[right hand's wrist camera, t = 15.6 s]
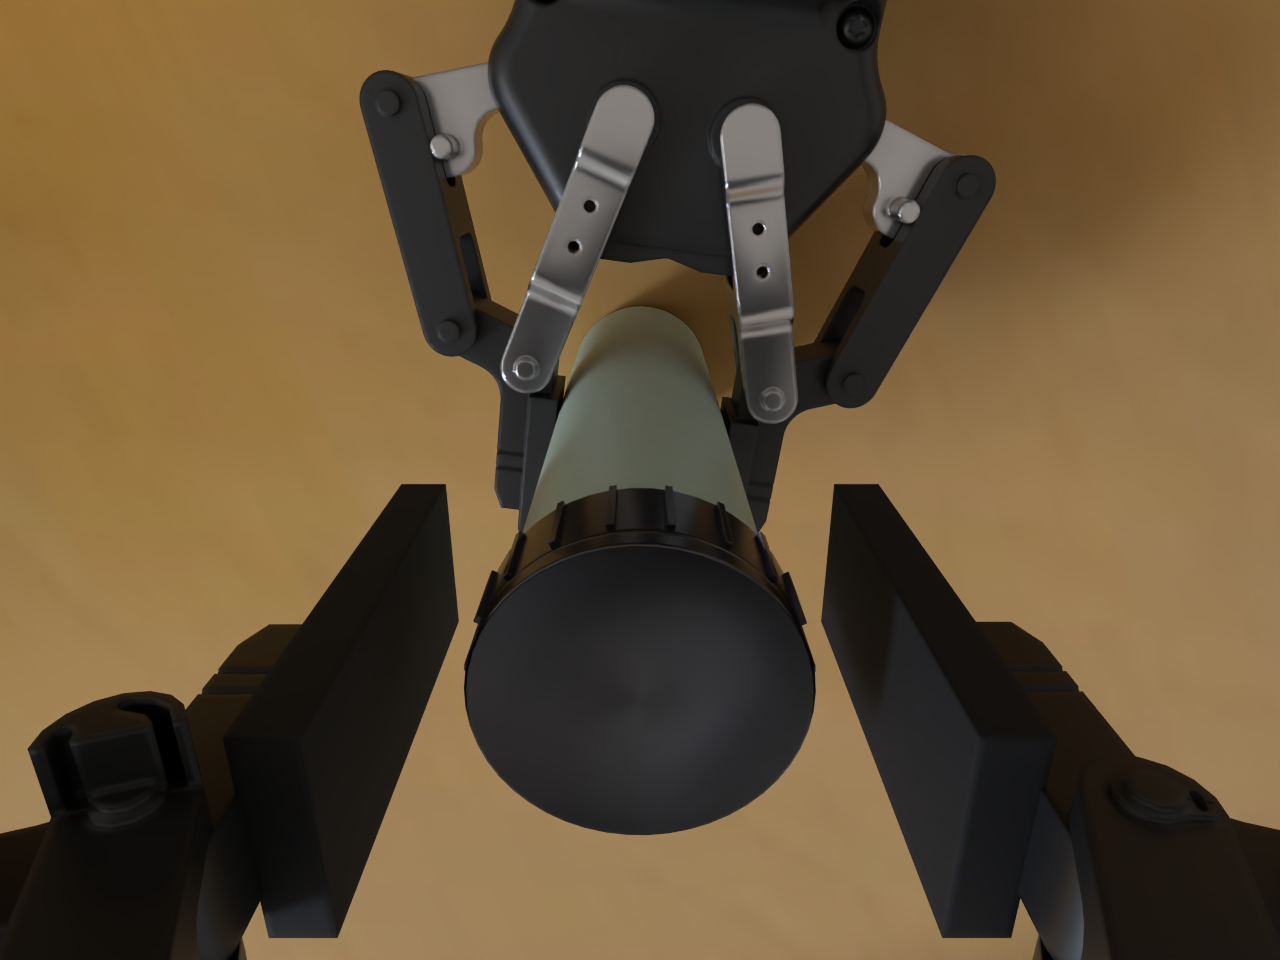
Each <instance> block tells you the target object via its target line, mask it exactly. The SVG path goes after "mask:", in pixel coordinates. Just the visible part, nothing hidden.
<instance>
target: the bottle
mask: <svg viewBox="0 0 1280 960" xmlns="http://www.w3.org/2000/svg"><path fill="white" fill-rule="evenodd" d="M613 485H617V489H626V488H655V489H663V490H664V488H665V485H667V486H672V487H673V491H676V492H680V493H684V494H687V495H691V496H695V497H697V498H700V499H702V500H705V501H707V502H710V503H712V504H715V505H716V504H717V502H718V501H719V502H721V503H723V504H724V505H725V509H726V511H727V512H729V513H731V514H732V515H734V516H735V517H736V518H738V519H739V520H740V521H742V522H743V523H744V524H746V525H747V526H748V527H749V528H750V529H751V530H752V531H753V532H754V533H755V534H756V535H757V534H758V533H757V530H756V526H755V523H754V520H753V517H752V513H751V510H750V507H749V503H748V500H747V497H746V493H745V490H744V487H743V484H742V480H741V477H740V474H739V470H738V467H737V464H736V461H735V457H734V454H733V451H732V447H731V444H730V441H729V437H728V434H727V431H726V428H725V424H724V421H723V418H722V414H721V411H720V408H719V405H718V401H717V398H716V395H715V391H714V388H713V385H712V381H711V378H710V375H709V372H708V368H707V365H706V362H705V358H704V355H703V352H702V349H701V346H700V344H699V342H698V340H697V338H696V337H695V335H694V333H693V332H692V331H691V330H690V329H689V327H688V326H687V325H686V324H685V323H683V322H682V321H681V320H680V319H678V318H677V317H675V316H674V315H672V314H670V313H668V312H666V311H663V310H660V309H657V308H652V307H644V306H636V307H628V308H623V309H620V310H617V311H614V312H612V313H610V314H608V315H606V316H605V317H603V318H602V319H600V320H599V321H598V322H597V323H596V324H595V325H593V327H592V328H591V329H590V330H589V331H588V332H587V334H586V336H585V337H584V339H583V340H582V343H581V345H580V347H579V350H578V353H577V356H576V359H575V363H574V366H573V369H572V372H571V376H570V379H569V382H568V386H567V389H566V392H565V395H564V399H563V402H562V405H561V408H560V412H559V415H558V418H557V422H556V425H555V428H554V431H553V435H552V438H551V441H550V444H549V448H548V451H547V454H546V458H545V461H544V464H543V467H542V471H541V474H540V477H539V480H538V484H537V487H536V490H535V494H534V497H533V500H532V503H531V507H530V510H529V513H528V516H527V520H526V523H525V526H524V530H523V533H525V532H526V531H528V530H529V529H530V528H531V527H532V526H533V525H534V524H535V523H536V522H538V521H539V520H541V519H542V518H544V517H545V516H546V515H548V514H549V513H551V512H552V511H554V510H556V506H557V503H559V502H561V501H564V502H565V504H568V503H570V502H572V501H575V500H577V499H580V498H583V497H586V496H588V495H592V494H596V493H600V492H605V491H609V486H613Z"/></svg>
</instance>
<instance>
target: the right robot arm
mask: <svg viewBox="0 0 1280 960" xmlns="http://www.w3.org/2000/svg"><path fill="white" fill-rule="evenodd" d="M458 622H459V619H458V609H457V598H456V587H455V577H454V566H453V556H452V545H451V535H450V524H449V514H448V503H447V493H446V484H401V486H400V487H399V489H398V490H397V491H396V493H395V494H394V496H393V497H392V499H391V500H390V501H389V503H388V504H387V506H386V507H385V508H384V510H383V511H382V513H381V514H380V515H379V517H378V518H377V520H376V521H375V523H374V524H373V525H372V527H371V528H370V530H369V531H368V532H367V534H366V535H365V537H364V538H363V539H362V541H361V542H360V544H359V545H358V547H357V548H356V549H355V551H354V552H353V554H352V555H351V556H350V558H349V559H348V561H347V562H346V563H345V565H344V566H343V568H342V569H341V571H340V572H339V573H338V575H337V576H336V578H335V579H334V580H333V582H332V583H331V585H330V586H329V587H328V589H327V590H326V592H325V593H324V595H323V596H322V597H321V599H320V600H319V602H318V603H317V604H316V606H315V607H314V609H313V610H312V611H311V613H310V614H309V616H308V617H307V619H306V620H305V621H304V623H303V624H269V625H268V626H266V627H265V628H263V629H262V630H260V631H259V632H257V633H256V634H254V635H253V636H251V637H249V638H248V639H246V640H245V641H243V642H242V643H240V644H239V645H238V646H237V647H236V648H235V649H234V651H233V652H232V653H231V654H230V655H229V657H228V658H227V659H226V660H225V662H224V663H223V664H222V665H221V667H220V668H219V669H218V670H219V671H218V674H214V675H213V676H212V678H211V679H210V680H209V681H208V683H207V684H206V685H205V686H204V688H203V689H202V694H198V695H197V696H196V698H195V699H194V700H193V701H192V702H191V704H190V705H189V706H188V707H187V709H186V710H185V707H184V704H183V703H181V702H180V701H179V700H177V699H176V698H175V697H173V696H172V695H169V694H163V693H158V692H152V691H146V692H134V693H123V694H119V695H115V696H112V697H108V698H104V699H101V700H97V701H94V702H91V703H89V704H87V705H85V706H83V707H80V708H78V709H76V710H74V711H72V712H70V713H67V714H65V715H64V716H62V717H61V718H60V719H58V720H57V721H55V722H54V723H53V724H51V725H50V726H48V727H47V728H45V729H44V730H43V731H42V732H41V733H40V734H39V735H38V737H37V738H36V739H35V740H34V742H33V743H32V744H31V745H30V747H29V748H28V751H29V754H30V757H31V760H32V763H33V766H34V769H35V772H36V775H37V778H38V780H39V783H40V786H41V789H42V792H43V795H44V798H45V801H46V804H47V807H48V810H49V812H50V815H51V819H50V822H47V823H44V824H40V825H37V826H33V827H28V828H24V829H19V830H15V831H10V832H6V833H1V834H0V960H247V958H246V952H245V948H244V944H243V940H242V936H243V934H244V932H245V930H246V928H247V926H248V924H249V922H250V920H251V918H252V916H253V914H254V912H255V910H256V908H257V906H258V904H259V902H261V906H262V910H263V915H264V919H265V923H266V927H267V932H268V936H269V938H338V935H339V933H340V930H341V927H342V925H343V922H344V920H345V917H346V914H347V912H348V909H349V907H350V904H351V901H352V899H353V896H354V894H355V891H356V888H357V886H358V883H359V880H360V878H361V875H362V873H363V870H364V867H365V865H366V862H367V860H368V857H369V854H370V852H371V849H372V847H373V844H374V841H375V839H376V836H377V833H378V831H379V828H380V826H381V823H382V820H383V818H384V815H385V813H386V810H387V807H388V805H389V802H390V800H391V797H392V794H393V792H394V789H395V786H396V784H397V781H398V779H399V776H400V773H401V771H402V768H403V766H404V763H405V760H406V758H407V755H408V752H409V750H410V747H411V745H412V742H413V739H414V737H415V734H416V732H417V729H418V726H419V724H420V721H421V719H422V716H423V713H424V711H425V708H426V705H427V703H428V700H429V698H430V695H431V692H432V690H433V687H434V685H435V682H436V679H437V677H438V674H439V672H440V669H441V666H442V664H443V661H444V658H445V656H446V653H447V651H448V648H449V645H450V643H451V640H452V638H453V635H454V632H455V630H456V627H457V625H458ZM821 622H822V625H823V627H824V630H825V632H826V635H827V638H828V640H829V643H830V645H831V648H832V651H833V653H834V656H835V658H836V661H837V664H838V666H839V669H840V672H841V674H842V677H843V679H844V682H845V685H846V687H847V690H848V692H849V695H850V698H851V700H852V703H853V705H854V708H855V711H856V713H857V716H858V719H859V721H860V724H861V726H862V729H863V732H864V734H865V737H866V739H867V742H868V745H869V747H870V750H871V752H872V755H873V758H874V760H875V763H876V766H877V768H878V771H879V773H880V776H881V779H882V781H883V784H884V786H885V789H886V792H887V794H888V797H889V800H890V802H891V805H892V807H893V810H894V813H895V815H896V818H897V820H898V823H899V826H900V828H901V831H902V833H903V836H904V839H905V841H906V844H907V847H908V849H909V852H910V854H911V857H912V860H913V862H914V865H915V867H916V870H917V873H918V875H919V878H920V880H921V883H922V886H923V888H924V891H925V894H926V896H927V899H928V901H929V904H930V907H931V909H932V912H933V914H934V917H935V920H936V922H937V925H938V927H939V930H940V933H941V935H942V938H1011V936H1012V932H1013V927H1014V923H1015V919H1016V915H1017V910H1018V906H1019V902H1020V898H1021V900H1022V902H1023V904H1024V906H1025V908H1026V910H1027V912H1028V914H1029V916H1030V918H1031V920H1032V922H1033V924H1034V926H1035V928H1036V930H1037V932H1038V934H1039V936H1038V940H1037V944H1036V948H1035V952H1034V956H1033V960H1280V830H1277V829H1272V828H1268V827H1263V826H1259V825H1254V824H1250V823H1245V822H1242V821H1238V820H1235V819H1231V818H1229V816H1228V814H1227V813H1226V812H1225V810H1224V809H1223V807H1222V806H1221V804H1220V803H1219V801H1218V800H1217V798H1216V797H1215V796H1213V795H1212V794H1211V793H1210V792H1208V791H1207V790H1206V789H1205V788H1203V787H1202V786H1201V785H1200V784H1199V783H1197V782H1196V781H1195V780H1193V779H1192V778H1190V777H1188V776H1186V775H1184V774H1182V773H1180V772H1178V771H1176V770H1174V769H1172V768H1170V767H1168V766H1166V765H1163V764H1160V763H1156V762H1153V761H1150V760H1147V759H1143V758H1140V757H1136V756H1135V755H1134V754H1133V753H1132V752H1131V750H1130V749H1129V748H1128V747H1127V745H1126V744H1125V743H1124V742H1123V741H1122V739H1121V738H1120V737H1119V736H1118V734H1117V733H1116V732H1115V731H1114V729H1113V728H1112V727H1111V726H1110V725H1109V723H1108V722H1107V721H1106V720H1105V718H1104V717H1103V716H1102V715H1101V713H1100V712H1099V711H1098V710H1097V709H1096V707H1095V706H1094V705H1093V704H1092V702H1091V701H1090V700H1089V699H1088V698H1087V696H1086V695H1085V694H1084V693H1083V692H1079V690H1078V685H1077V684H1076V683H1075V682H1074V680H1073V679H1072V678H1071V677H1070V675H1069V674H1068V673H1067V672H1066V671H1062V666H1061V664H1060V663H1059V662H1058V661H1057V659H1056V658H1055V657H1054V656H1053V655H1052V653H1051V652H1050V651H1049V650H1048V648H1047V647H1046V646H1045V645H1044V643H1043V642H1041V641H1040V640H1038V639H1037V638H1035V637H1034V636H1032V635H1030V634H1029V633H1027V632H1026V631H1024V630H1023V629H1021V628H1020V627H1018V626H1017V625H1015V624H1014V623H1012V622H976V621H975V620H974V619H973V617H972V616H971V614H970V613H969V611H968V610H967V609H966V607H965V606H964V604H963V603H962V602H961V600H960V599H959V597H958V596H957V595H956V593H955V592H954V590H953V589H952V587H951V586H950V585H949V583H948V582H947V580H946V579H945V578H944V576H943V575H942V573H941V572H940V571H939V569H938V568H937V566H936V565H935V563H934V562H933V561H932V559H931V558H930V556H929V555H928V554H927V552H926V551H925V549H924V548H923V547H922V545H921V544H920V542H919V541H918V539H917V538H916V537H915V535H914V534H913V532H912V531H911V530H910V528H909V527H908V525H907V524H906V523H905V521H904V520H903V518H902V517H901V515H900V514H899V513H898V511H897V510H896V508H895V507H894V506H893V504H892V503H891V501H890V500H889V499H888V497H887V496H886V494H885V493H884V491H883V490H882V489H881V487H880V486H879V484H834V493H833V503H832V514H831V524H830V535H829V545H828V556H827V566H826V577H825V587H824V598H823V609H822V619H821Z"/></svg>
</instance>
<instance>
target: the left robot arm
mask: <svg viewBox="0 0 1280 960" xmlns="http://www.w3.org/2000/svg"><path fill="white" fill-rule="evenodd" d="M886 1H887V0H515V2H514V5H513V8H512V11H511V13H510V16H509V18H508V20H507V22H506V24H505V26H504V28H503V29H502V31H501V32H500V34H499V36H498V37H497V39H496V40H495V42H494V44H493V47H492V49H491V52H490V56H489V61H488V62H487V63H482V64H477V65H472V66H468V67H463V68H458V69H453V70H448V71H443V72H438V73H433V74H428V75H423V76H418V77H410V76H407V75H404V74H401V73H397V72H394V71H389V70H382V71H378V72H375V73H373V74H372V75H370V76H369V77H368V78H367V79H366V80H365V82H364V83H363V85H362V88H361V91H360V106H361V111H362V114H363V118H364V121H365V125H366V129H367V132H368V136H369V139H370V143H371V147H372V150H373V154H374V157H375V161H376V165H377V168H378V172H379V175H380V179H381V183H382V186H383V190H384V193H385V197H386V201H387V204H388V208H389V211H390V215H391V218H392V222H393V226H394V229H395V233H396V236H397V240H398V244H399V247H400V251H401V254H402V258H403V262H404V265H405V269H406V272H407V276H408V280H409V283H410V287H411V290H412V294H413V298H414V301H415V305H416V308H417V312H418V316H419V319H420V323H421V326H422V330H423V334H424V337H425V339H426V341H427V343H428V344H429V346H430V347H431V348H432V349H433V350H435V351H436V352H438V353H439V354H442V355H445V356H461V357H463V358H465V359H467V360H469V361H471V362H473V363H475V364H477V365H479V366H481V367H483V368H484V369H486V370H487V371H488V372H490V374H491V375H492V376H493V377H494V378H495V380H496V381H497V383H498V386H499V389H500V393H501V403H500V417H499V432H498V446H497V460H496V474H495V491H496V494H497V497H498V500H499V503H500V506H501V508H510V509H518V510H519V520H518V531H520V530H521V531H522V532H523V530H524V526H525V523H526V520H527V516H528V513H529V510H530V507H531V503H532V500H533V497H534V494H535V490H536V487H537V484H538V480H539V477H540V474H541V471H542V467H543V464H544V461H545V458H546V454H547V451H548V448H549V444H550V441H551V438H552V435H553V431H554V428H555V425H556V422H557V418H558V415H559V412H560V408H561V405H562V402H563V397H564V387H565V377H566V376H559V375H558V366H559V357H560V354H561V352H562V350H563V347H564V345H565V342H566V340H567V337H568V335H569V332H570V330H571V328H572V325H573V323H574V320H575V318H576V315H577V313H578V310H579V308H580V306H581V303H582V301H583V298H584V296H585V294H586V291H587V289H588V286H589V284H590V281H591V279H592V276H593V274H594V272H595V269H596V267H597V264H598V262H599V259H606V260H614V261H621V262H629V263H632V262H640V261H647V260H654V259H662V258H669V259H671V260H674V261H676V262H678V263H681V264H683V265H685V266H688V267H690V268H693V269H695V270H697V271H700V272H704V273H711V274H719V275H722V276H723V285H724V293H725V300H726V305H727V310H728V316H729V324H730V332H731V341H732V350H733V358H734V367H735V382H734V387H733V393H732V398H729V397H722V403H721V409H720V411H721V414H722V418H723V421H724V424H725V428H726V431H727V434H728V437H729V441H730V444H731V447H732V451H733V454H734V457H735V461H736V464H737V467H738V470H739V474H740V477H741V480H742V484H743V487H744V490H745V493H746V497H747V500H748V503H749V507H750V510H751V513H752V517H753V520H754V523H755V526H756V530H757V533H758V532H759V531H760V529H761V528H762V526H763V525H764V523H765V522H766V519H767V514H768V509H769V504H770V499H771V494H772V489H773V484H774V479H775V475H776V470H777V465H778V460H779V455H780V450H781V445H782V440H783V435H784V432H785V429H786V427H787V425H788V424H789V422H790V421H791V420H792V419H793V418H794V417H795V416H796V415H798V414H799V413H801V412H803V411H805V410H808V409H812V408H817V407H821V406H826V405H831V404H835V403H836V404H837V405H839V406H841V407H845V408H856V407H860V406H862V405H864V404H866V403H867V402H869V401H870V400H871V399H872V398H873V396H874V395H875V393H876V392H877V390H878V388H879V387H880V385H881V383H882V382H883V380H884V378H885V376H886V375H887V373H888V371H889V370H890V368H891V366H892V365H893V363H894V361H895V360H896V358H897V356H898V354H899V353H900V351H901V349H902V348H903V346H904V344H905V343H906V341H907V339H908V338H909V336H910V334H911V332H912V331H913V329H914V327H915V326H916V324H917V322H918V321H919V319H920V317H921V316H922V314H923V312H924V310H925V309H926V307H927V305H928V304H929V302H930V300H931V299H932V297H933V295H934V294H935V292H936V290H937V288H938V287H939V285H940V283H941V282H942V280H943V278H944V277H945V275H946V273H947V272H948V270H949V268H950V266H951V265H952V263H953V261H954V260H955V258H956V256H957V255H958V253H959V251H960V250H961V248H962V246H963V244H964V243H965V241H966V239H967V238H968V236H969V234H970V233H971V231H972V229H973V228H974V226H975V224H976V222H977V221H978V219H979V217H980V216H981V214H982V212H983V211H984V209H985V207H986V205H987V204H988V202H989V200H990V199H991V197H992V195H993V192H994V189H995V184H996V178H995V173H994V170H993V168H992V166H991V165H990V164H989V162H988V161H986V160H985V159H983V158H982V157H979V156H974V155H966V154H960V153H947V152H945V151H943V150H942V149H940V148H938V147H936V146H934V145H932V144H930V143H928V142H927V141H925V140H923V139H921V138H919V137H917V136H915V135H914V134H912V133H910V132H908V131H906V130H904V129H902V128H900V127H899V126H897V125H895V124H893V123H891V122H889V121H887V120H886V100H885V95H884V91H883V88H882V85H881V81H880V77H879V71H878V61H877V48H878V39H879V33H880V28H881V24H882V19H883V15H884V10H885V6H886ZM498 112H500V113H501V115H502V117H503V119H504V121H505V122H506V124H507V126H508V128H509V130H510V131H511V133H512V135H513V137H514V139H515V140H516V142H517V144H518V146H519V148H520V149H521V151H522V153H523V155H524V157H525V158H526V160H527V162H528V164H529V166H530V167H531V169H532V171H533V173H534V175H535V176H536V178H537V180H538V182H539V184H540V185H541V187H542V189H543V191H544V193H545V194H546V196H547V198H548V200H549V202H550V203H551V205H552V207H553V209H554V211H555V216H554V219H553V221H552V224H551V226H550V229H549V232H548V234H547V237H546V239H545V242H544V245H543V247H542V250H541V253H540V255H539V258H538V260H537V263H536V266H535V268H534V271H533V274H532V276H531V279H530V282H529V286H528V290H527V293H526V296H525V298H524V301H523V304H522V306H521V309H520V312H519V314H517V313H515V312H513V311H511V310H509V309H507V308H505V307H503V306H501V305H499V304H497V303H495V302H493V301H492V300H491V296H490V292H489V288H488V284H487V280H486V276H485V272H484V267H483V263H482V259H481V255H480V251H479V247H478V243H477V239H476V235H475V231H474V226H473V222H472V218H471V214H470V210H469V206H468V202H467V198H466V194H465V189H464V185H463V181H462V177H461V175H465V174H468V173H470V172H472V171H473V170H474V169H475V168H476V167H477V166H478V164H479V163H480V160H481V158H482V153H483V146H482V133H483V129H484V127H485V124H486V123H487V121H488V120H489V119H490V118H491V117H492V116H493V115H494V114H496V113H498ZM860 165H862V166H863V168H864V169H865V171H866V173H867V176H868V181H869V187H868V193H867V195H866V198H865V201H864V205H863V215H864V219H865V221H866V223H867V224H868V226H869V227H870V228H871V229H872V230H874V231H875V232H874V234H873V236H872V238H871V239H870V241H869V243H868V245H867V247H866V249H865V250H864V252H863V254H862V256H861V258H860V259H859V261H858V263H857V265H856V267H855V269H854V270H853V272H852V274H851V276H850V278H849V280H848V281H847V283H846V285H845V287H844V289H843V290H842V292H841V294H840V296H839V298H838V300H837V301H836V303H835V305H834V307H833V309H832V310H831V312H830V314H829V316H828V318H827V320H826V321H825V323H824V325H823V327H822V329H821V331H820V332H819V334H818V336H817V338H816V340H815V341H814V343H812V344H807V345H803V346H798V347H794V344H793V333H792V323H793V320H794V304H793V292H792V281H791V269H790V257H789V246H788V239H789V238H790V237H791V236H792V235H793V234H794V232H795V231H796V230H797V229H798V228H799V227H800V226H801V225H802V224H803V223H804V222H805V221H806V220H807V219H808V218H809V217H810V216H811V215H812V214H813V213H814V212H815V211H816V210H817V209H818V208H819V207H820V206H821V205H822V204H823V203H824V202H825V201H826V200H827V199H828V198H829V197H830V196H831V195H832V194H833V192H834V191H835V190H836V189H837V188H838V187H839V186H840V185H841V184H842V183H843V182H844V181H845V180H846V179H847V178H848V177H849V176H850V175H851V174H852V173H853V172H854V171H855V170H856V169H857V168H858V167H859V166H860Z"/></svg>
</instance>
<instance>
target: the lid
mask: <svg viewBox="0 0 1280 960" xmlns="http://www.w3.org/2000/svg"><path fill="white" fill-rule="evenodd" d="M474 622H475V623H478V626H477V629H476V632H475V635H474V638H473V641H472V644H471V646H470V649H469V652H468V655H467V658H466V661H465V664H464V670H465V682H464V694H465V707H466V711H467V715H468V719H469V724H470V727H471V730H472V732H473V734H474V737H475V739H476V742H477V744H478V746H479V748H480V750H481V751H482V753H483V755H484V756H485V758H486V760H487V761H488V763H489V764H490V765H491V767H492V768H493V769H494V770H495V772H496V773H497V774H498V776H499V777H500V778H501V779H502V780H503V781H504V782H505V783H506V784H507V785H508V786H509V787H511V788H512V789H513V790H514V791H515V792H516V793H518V794H519V795H520V796H521V797H523V798H524V799H525V800H527V801H528V802H529V803H531V804H533V805H534V806H536V807H538V808H539V809H541V810H543V811H544V812H546V813H548V814H550V815H553V816H555V817H557V818H559V819H561V820H564V821H566V822H569V823H572V824H575V825H578V826H581V827H584V828H588V829H593V830H597V831H602V832H607V833H616V834H625V835H653V834H664V833H672V832H677V831H683V830H688V829H692V828H695V827H698V826H702V825H705V824H708V823H711V822H714V821H716V820H718V819H721V818H723V817H725V816H728V815H730V814H732V813H733V812H735V811H737V810H739V809H741V808H742V807H744V806H746V805H747V804H749V803H750V802H752V801H753V800H754V799H756V798H757V797H759V796H760V795H761V794H763V793H764V792H765V791H766V790H767V789H768V788H769V787H770V786H771V785H772V784H774V783H775V782H776V781H777V780H778V779H779V777H780V776H781V775H782V774H783V773H784V771H785V770H786V769H787V768H788V767H789V765H790V764H791V762H792V761H793V759H794V758H795V756H796V754H797V753H798V751H799V750H800V748H801V746H802V743H803V741H804V739H805V737H806V734H807V732H808V730H809V726H810V722H811V719H812V715H813V711H814V703H815V694H816V688H815V663H814V660H813V657H812V654H811V651H810V648H809V645H808V642H807V639H806V637H805V634H804V631H803V628H802V625H804V624H807V622H806V619H805V616H804V613H803V610H802V608H801V605H800V602H799V599H798V596H797V593H796V590H795V588H794V585H793V582H792V579H791V576H790V574H789V572H786V573H784V574H783V571H782V569H781V568H780V566H779V564H778V562H777V560H776V559H775V557H774V555H773V554H772V552H771V551H770V549H769V546H768V543H767V540H766V537H765V535H764V534H763V533H762V532H760V533H758V534H757V535H756V534H755V533H754V532H753V531H752V530H751V529H750V528H749V527H748V526H747V525H746V524H744V523H743V522H742V521H740V520H739V519H738V518H736V517H735V516H734V515H732V514H731V513H729V512H727V511H726V509H725V505H724V504H723V503H721V502H719V501H718V502H717V504H716V505H715V504H712V503H710V502H707V501H705V500H702V499H700V498H697V497H695V496H691V495H687V494H684V493H680V492H676V491H673V487H672V486H667V485H665V488H664V490H663V489H655V488H626V489H617V485H613V486H609V491H605V492H600V493H596V494H592V495H588V496H586V497H583V498H580V499H577V500H575V501H572V502H570V503H568V504H565V502H564V501H561V502H559V503H557V506H556V510H554V511H552V512H551V513H549V514H548V515H546V516H545V517H544V518H542V519H541V520H539V521H538V522H536V523H535V524H534V525H533V526H532V527H531V528H530V529H529V530H528V531H526V532H525V533H523V532H522V531H521V530H520V531H519V532H518V533H517V534H516V536H515V539H514V542H513V545H512V548H511V549H510V551H509V552H508V554H507V555H506V557H505V559H504V560H503V562H502V564H501V565H500V567H499V569H498V572H495V571H493V570H492V571H491V574H490V576H489V579H488V582H487V585H486V587H485V590H484V593H483V596H482V599H481V602H480V604H479V607H478V610H477V613H476V616H475V619H474Z"/></svg>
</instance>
